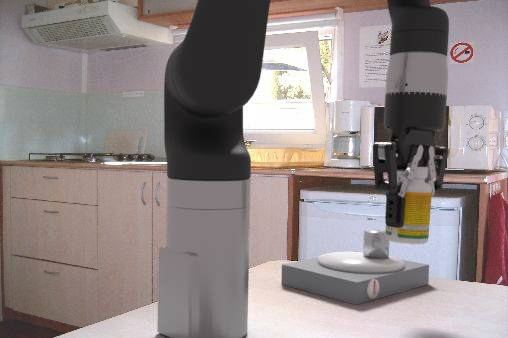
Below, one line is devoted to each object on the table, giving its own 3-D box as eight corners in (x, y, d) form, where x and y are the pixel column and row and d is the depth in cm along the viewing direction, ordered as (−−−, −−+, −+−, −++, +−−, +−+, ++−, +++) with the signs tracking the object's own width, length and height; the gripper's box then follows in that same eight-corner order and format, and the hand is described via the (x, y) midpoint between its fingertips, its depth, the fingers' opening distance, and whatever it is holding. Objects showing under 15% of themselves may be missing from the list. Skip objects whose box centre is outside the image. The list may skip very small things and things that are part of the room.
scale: (358, 305, 76) (359, 278, 76) (281, 284, 87) (282, 260, 86) (430, 284, 88) (431, 261, 88) (355, 268, 99) (355, 247, 99)
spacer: (379, 260, 88) (379, 234, 88) (357, 256, 91) (358, 231, 91) (394, 257, 91) (394, 232, 90) (373, 253, 94) (373, 228, 93)
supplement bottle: (376, 239, 74) (380, 164, 73) (401, 236, 77) (406, 165, 77) (412, 246, 70) (417, 167, 69) (437, 243, 73) (441, 167, 73)
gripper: (410, 85, 65) (401, 233, 66) (471, 97, 75) (462, 226, 76) (357, 87, 71) (349, 224, 71) (419, 98, 80) (412, 219, 81)
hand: (407, 224), depth 73 cm, fingers closed on supplement bottle, 5 cm apart
